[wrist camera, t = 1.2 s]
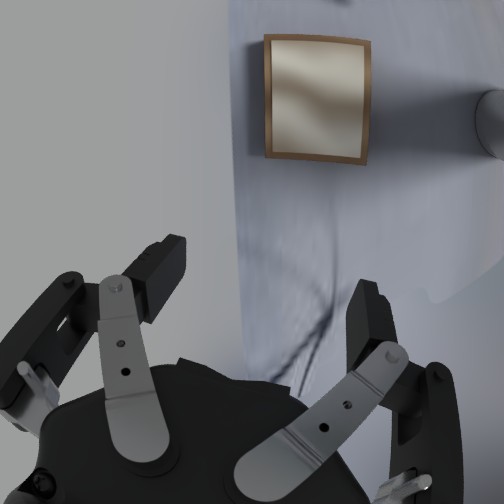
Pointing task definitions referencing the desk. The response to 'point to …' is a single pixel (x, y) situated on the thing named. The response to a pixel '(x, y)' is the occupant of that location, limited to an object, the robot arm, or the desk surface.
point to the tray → (317, 98)
